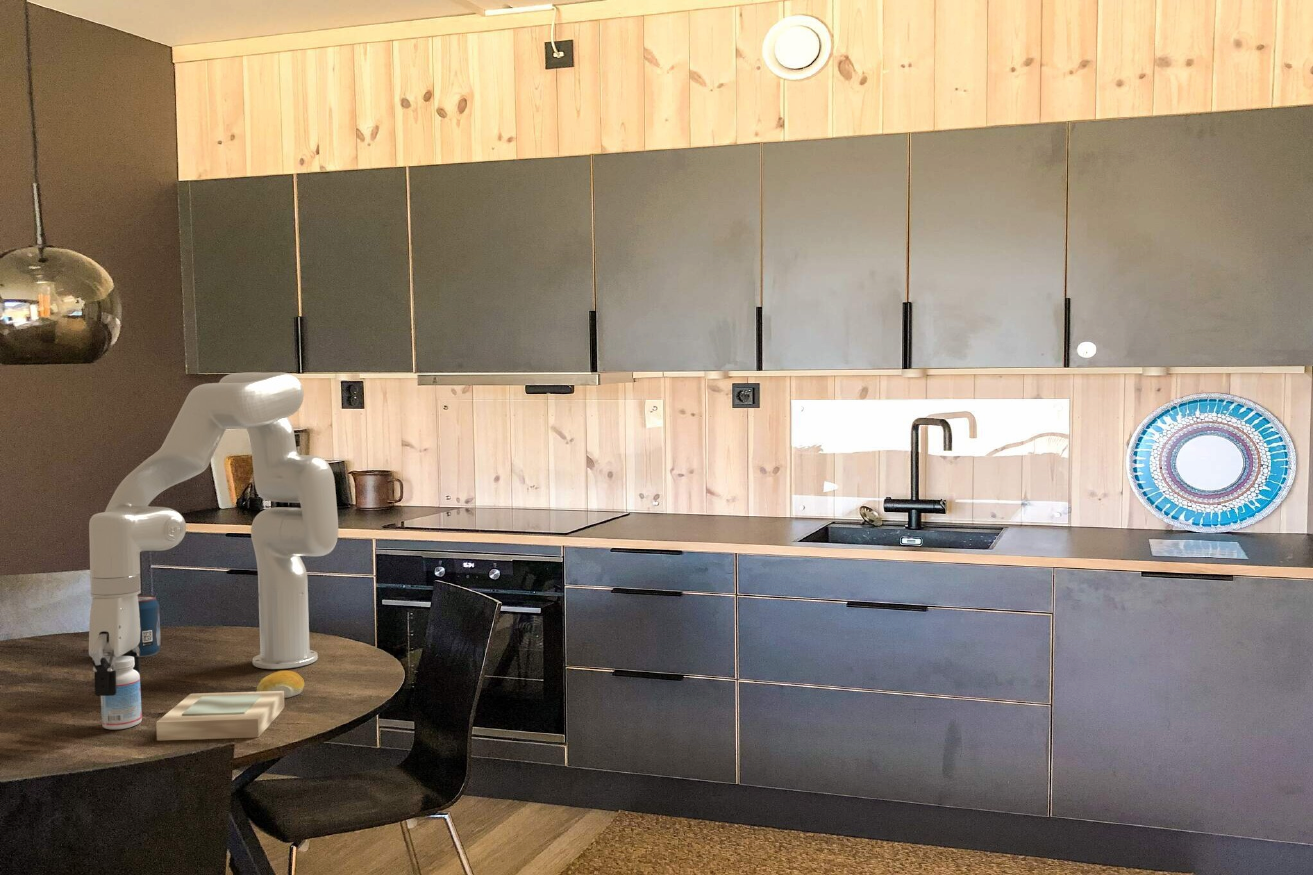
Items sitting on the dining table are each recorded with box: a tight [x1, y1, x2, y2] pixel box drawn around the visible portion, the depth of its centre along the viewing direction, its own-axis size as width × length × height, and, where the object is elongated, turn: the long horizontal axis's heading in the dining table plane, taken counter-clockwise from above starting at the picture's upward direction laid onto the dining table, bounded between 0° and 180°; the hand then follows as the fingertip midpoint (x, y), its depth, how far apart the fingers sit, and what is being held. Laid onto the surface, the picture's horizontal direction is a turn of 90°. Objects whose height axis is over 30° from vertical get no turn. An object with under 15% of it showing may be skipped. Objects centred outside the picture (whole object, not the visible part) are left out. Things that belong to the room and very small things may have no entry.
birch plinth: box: [155, 691, 285, 741], centre depth 189 cm, size 16×16×3 cm
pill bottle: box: [100, 655, 143, 731], centre depth 188 cm, size 6×6×11 cm
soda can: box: [136, 594, 162, 659], centre depth 236 cm, size 7×7×12 cm
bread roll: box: [256, 670, 306, 699], centre depth 207 cm, size 8×9×4 cm
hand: (118, 687), depth 188 cm, fingers open, 9 cm apart
